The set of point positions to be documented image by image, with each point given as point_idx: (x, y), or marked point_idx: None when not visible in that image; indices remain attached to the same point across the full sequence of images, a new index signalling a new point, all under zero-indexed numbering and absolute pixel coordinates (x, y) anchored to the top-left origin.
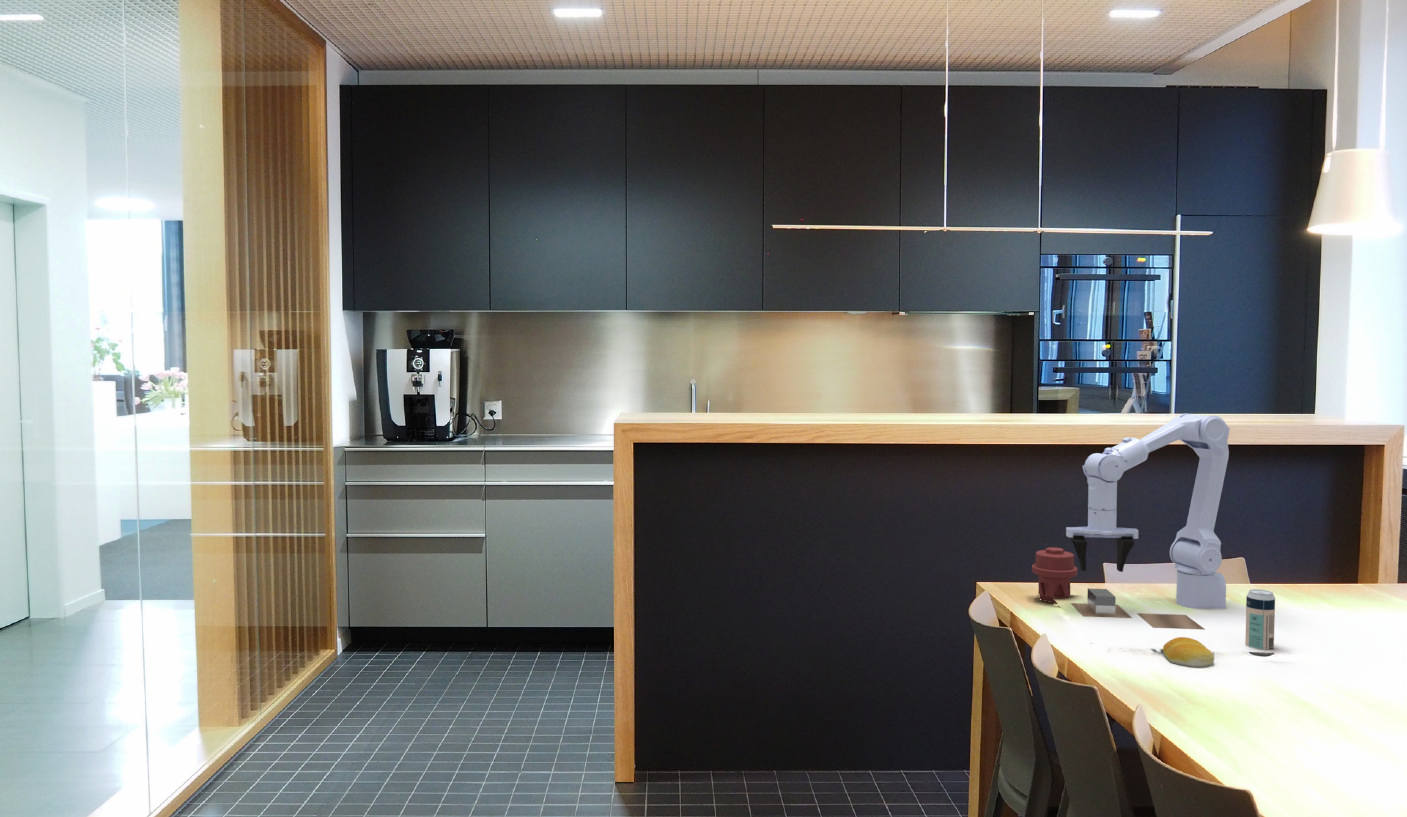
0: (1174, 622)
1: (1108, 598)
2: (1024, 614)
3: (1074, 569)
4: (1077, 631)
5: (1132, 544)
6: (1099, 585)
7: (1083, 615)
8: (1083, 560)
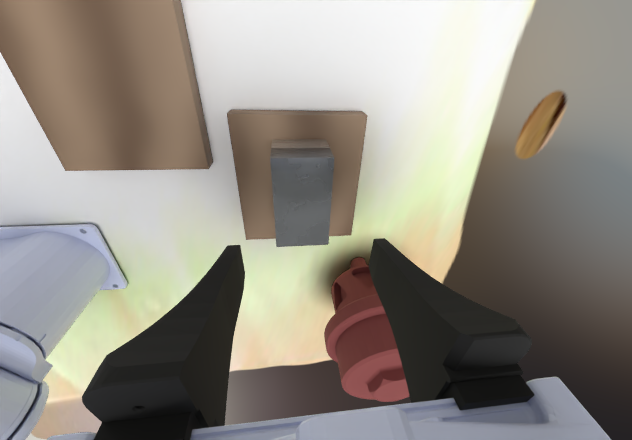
0: (90, 67)
1: (293, 155)
2: (466, 176)
3: (341, 328)
4: (414, 5)
5: (113, 357)
6: (249, 363)
7: (363, 124)
8: (404, 262)
